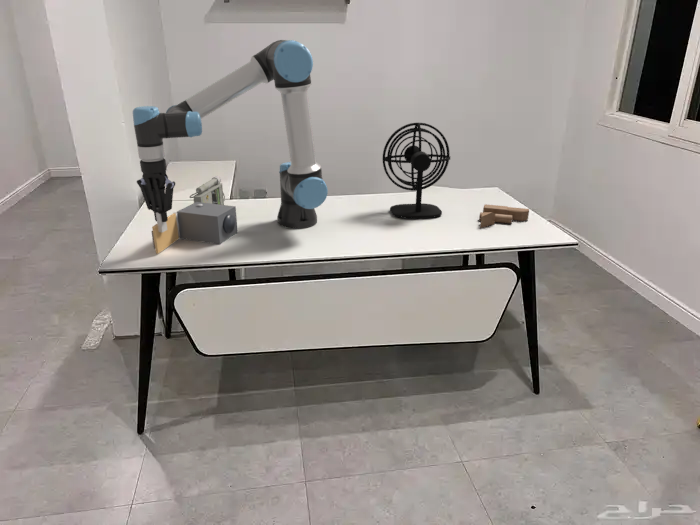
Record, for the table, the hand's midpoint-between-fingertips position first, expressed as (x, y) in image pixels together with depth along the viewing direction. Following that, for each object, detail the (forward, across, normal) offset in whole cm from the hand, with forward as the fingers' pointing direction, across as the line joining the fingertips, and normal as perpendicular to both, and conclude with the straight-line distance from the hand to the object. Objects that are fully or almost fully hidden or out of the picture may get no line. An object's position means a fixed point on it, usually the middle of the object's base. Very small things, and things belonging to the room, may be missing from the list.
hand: (163, 230), depth 177 cm
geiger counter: (+8, +7, -40) cm, 41 cm away
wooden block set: (+9, -104, -67) cm, 124 cm away
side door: (+7, +2, -4) cm, 8 cm away
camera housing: (+8, -5, -18) cm, 20 cm away
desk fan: (+8, -69, -68) cm, 98 cm away
